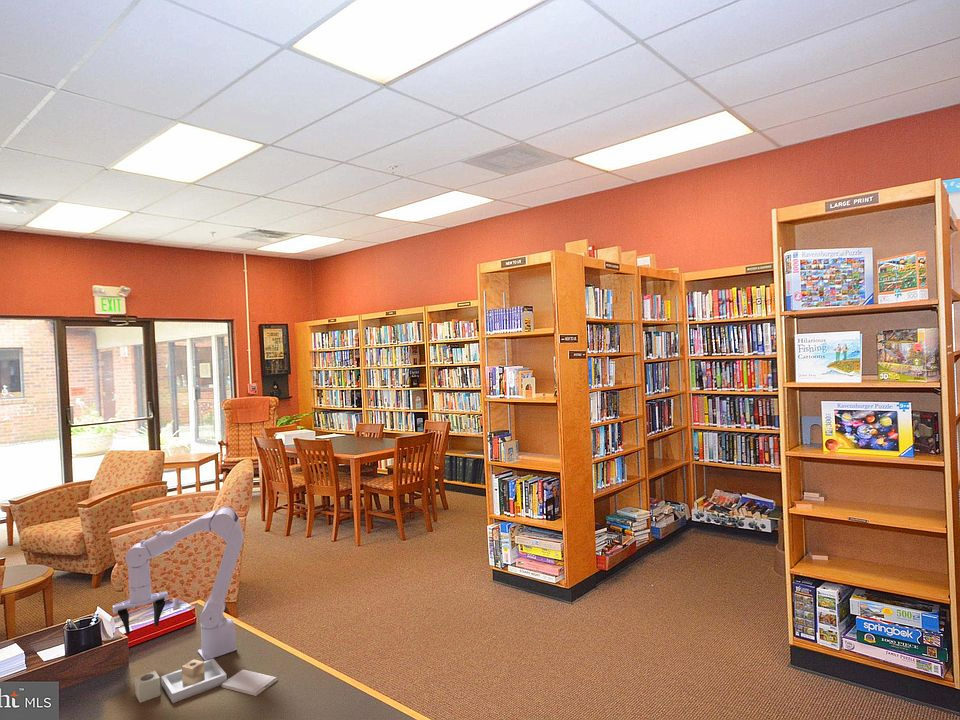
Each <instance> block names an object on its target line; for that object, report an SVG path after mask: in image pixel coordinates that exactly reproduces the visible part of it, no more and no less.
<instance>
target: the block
mask: <svg viewBox="0 0 960 720" xmlns="http://www.w3.org/2000/svg"><path fill="white" fill-rule="evenodd" d="M181 669H182V683H183V684H184V685H188V686H190V685H193V684H196V683H198V682H201V681H203V680H205V674H204V661H202V660H198V659H192V660H190V661H188V662H187V663H185V664H184V665H182V666H181Z"/></svg>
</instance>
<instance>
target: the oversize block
mask: <svg viewBox="0 0 960 720" xmlns="http://www.w3.org/2000/svg"><path fill="white" fill-rule="evenodd" d="M134 687H135V696H136V697H135V698H137V700H138V703H139V704H141V703H143V702H147V701H149V700H151V699H154V698H158V697H160V696H161V676H159V674H158V673H157V671H156V670H152V671H150V672H147V673H144V674H141V675H137V676H135V677H134Z"/></svg>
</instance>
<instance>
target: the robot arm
mask: <svg viewBox="0 0 960 720" xmlns="http://www.w3.org/2000/svg"><path fill="white" fill-rule="evenodd" d="M202 531H203V532H206V533H211V531H212V532H214V533H215V534H216V535H218V536H220V537H221V538H222V540H224V542H225V544H226V545H225V549H224V552H223V555H222V558H221V562H220V564H219V568H218V570H217V573H216V577H215V579H214V582H213V586H212V589H211V591H210V595H209V598H208V599H207V600H206V601H205V603H204V605H203V609H202V612H200V615H199V623H200V639H201V640H200V641H201V648H200V649H198V650H197V653H198V654H199V655H200V656H201V658H202V660H204V661H207V660H210V659H215V658H218V657H221V656H223V655H226V654H229V653H232V652H235V651H237V650H238V648H237V643H236V641H237V638H236V627H235V623H234V620H233V618H226V617H225V615H224V612H225V610H226V601H225V600H226V596H227V593H228V590H229V587H230V584H231V581H232V578H233V574H234V571H235V569H236V565H237V561H238V560H239V559H238V558H239V555H240V553H241V549H242V547H243V543H244V540H245V534H244V531H243V529H242V526H241V521H240V517H239V514H238V513H237V512H236V511H235V510H234V509H233V508H232V507H230V506H221V507H220V508H218V509H217V510H216V509H215V510H212V511H210V512H208V513H205V514H203V515H201V516H199V517H197V518H196V519H193V520H192V521H190V522H188V523H187V524H185V525H182V526H181V527H179V528H176V529H175V530H173V531H170V530H164V531H162V530H159V531H157V532H156V534H155V535H154V536H152V537H149V538H148V539H146V540H145V539H143V540H140V542H138V543H135V544H134V545H132V546H131V547H130V549H129V550H128V551H127V552H126V554H125V557H124V560H125V564H126V565H128V567H127V568H128V572H127V573H128V576H127V577H128V589H129V591H128V594H129V599H127V600H124V601H121V602H119V603H116V604H113V605H112V606H111V607H112V613H113V615H114V614H117V615H118V617H119V618H120V619H121V622H122V624H123V626H124V629H125V634H126V636H129V635H130V633H131V630H130V623H129V622H130V613H129V611H128V610H130V609H134V608H138V607H141V606H144V605H148V604H153V623H154V626H155V627H159V623H160V618H161V616H162V613H163V610H164V609H165V605H166V600H169V593H168V592H167V591H162V592H161V591H160V592H157V593H152V581H151V580H152V579H151V567H150V559H153V558H156V557H157V556H160V555H161V554H164V553H165V552H167V551H169V550H172V549H174V548H175V546H176V544H177V542H179V541H181V540H183V539H186V538H187V537H190V536H191V535H194V534H196V533H199V532H202Z"/></svg>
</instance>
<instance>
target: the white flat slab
mask: <svg viewBox="0 0 960 720" xmlns="http://www.w3.org/2000/svg"><path fill="white" fill-rule="evenodd" d="M277 681H278V677H276V676H273V675H268V674H263V673H259V672H256V671H251V670H249V669H248V670H247V669H241V670H240V671H238V672H236V673H235V674H234V675H232V676H231V677H229V678H227V680H226V681H225V682H223V683H222V685H221V688H224V689H227V690H231V691H236V692H239V693H243V694H247V695H249V696H254V697H256V696H258V695H259V694H261V693H262V692H263V691H265V690H266V689H268V688H269V687H270V686H271V685H273V684H275V683H276V682H277Z"/></svg>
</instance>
